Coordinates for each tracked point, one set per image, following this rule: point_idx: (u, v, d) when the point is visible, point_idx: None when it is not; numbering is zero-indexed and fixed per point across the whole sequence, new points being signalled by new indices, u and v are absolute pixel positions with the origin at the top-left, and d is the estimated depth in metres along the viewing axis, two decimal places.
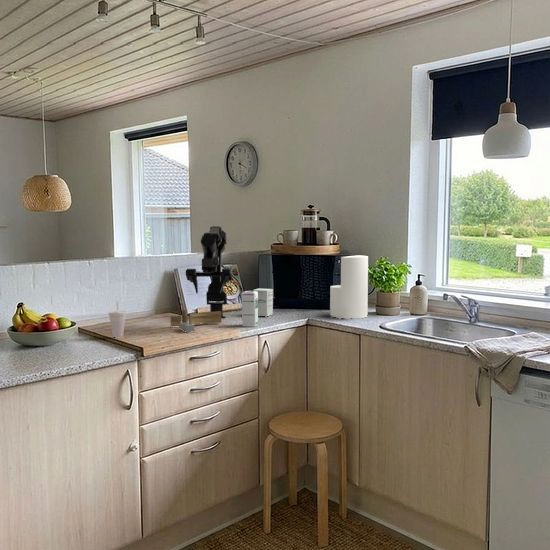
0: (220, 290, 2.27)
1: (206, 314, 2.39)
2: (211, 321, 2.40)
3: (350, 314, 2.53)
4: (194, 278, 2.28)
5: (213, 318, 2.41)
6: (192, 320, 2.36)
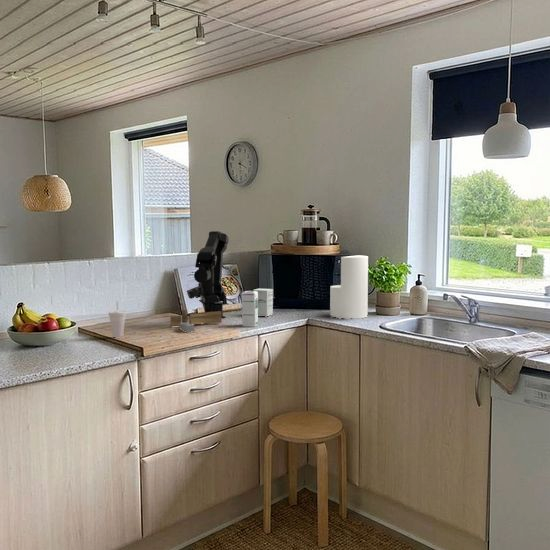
0: None
1: (206, 314, 2.39)
2: (211, 321, 2.40)
3: (350, 314, 2.53)
4: None
5: (213, 318, 2.40)
6: (192, 320, 2.36)
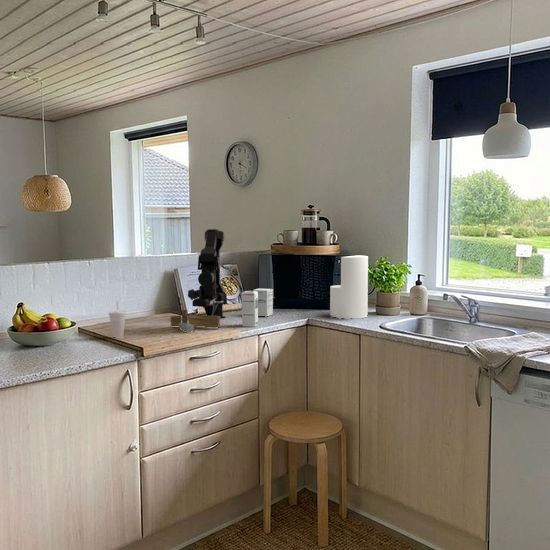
0: None
1: (203, 317, 2.31)
2: (208, 325, 2.30)
3: (350, 314, 2.53)
4: None
5: (210, 322, 2.30)
6: (190, 321, 2.33)
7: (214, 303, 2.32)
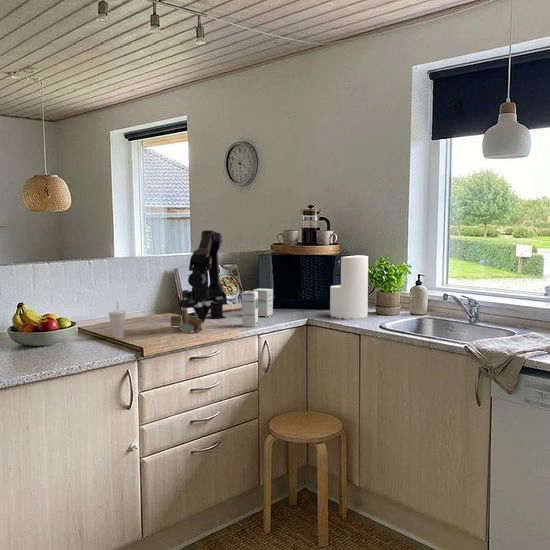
0: None
1: (191, 319, 2.26)
2: None
3: (350, 314, 2.53)
4: None
5: (195, 325, 2.24)
6: None
7: (206, 306, 2.26)
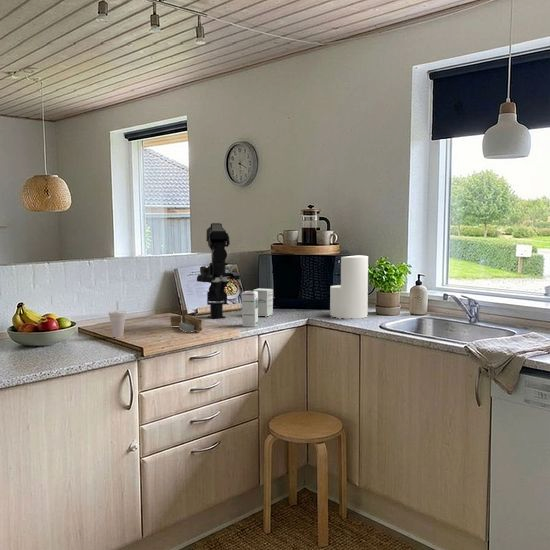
0: (216, 295, 2.35)
1: (191, 319, 2.26)
2: None
3: (350, 314, 2.53)
4: None
5: (195, 325, 2.24)
6: None
7: (223, 281, 2.34)
